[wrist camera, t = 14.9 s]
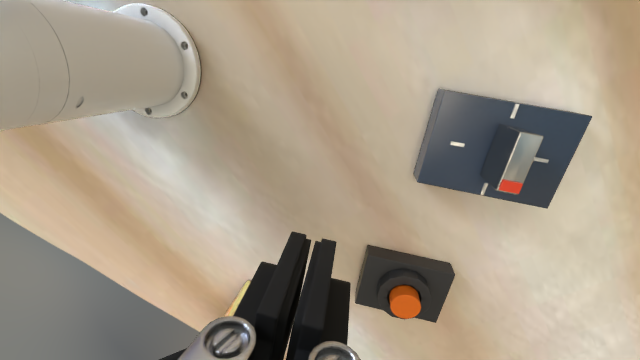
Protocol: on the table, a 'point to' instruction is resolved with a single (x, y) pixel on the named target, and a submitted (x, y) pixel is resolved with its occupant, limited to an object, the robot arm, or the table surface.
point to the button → (404, 301)
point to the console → (477, 135)
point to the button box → (403, 280)
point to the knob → (510, 158)
